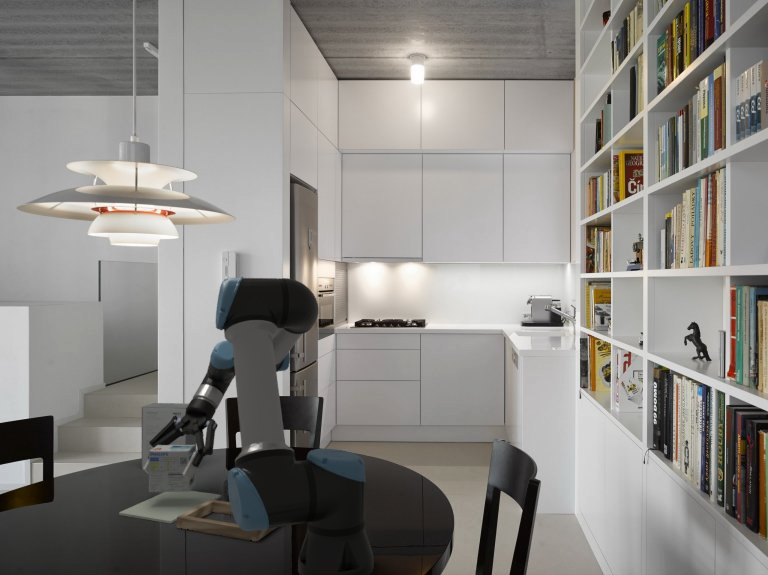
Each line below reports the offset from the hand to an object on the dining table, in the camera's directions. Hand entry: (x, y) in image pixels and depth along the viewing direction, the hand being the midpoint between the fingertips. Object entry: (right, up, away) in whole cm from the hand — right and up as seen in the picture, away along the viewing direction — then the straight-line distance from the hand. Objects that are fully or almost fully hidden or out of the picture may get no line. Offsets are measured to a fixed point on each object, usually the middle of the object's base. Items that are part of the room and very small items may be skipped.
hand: (165, 474), depth 149 cm
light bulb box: (+1, -5, +2) cm, 5 cm away
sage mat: (+1, -9, +2) cm, 9 cm away
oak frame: (+20, -9, -10) cm, 24 cm away
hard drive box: (-13, -10, +37) cm, 40 cm away
